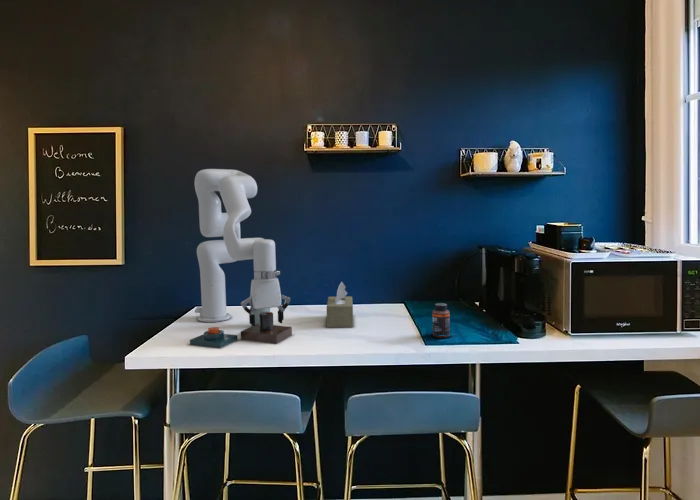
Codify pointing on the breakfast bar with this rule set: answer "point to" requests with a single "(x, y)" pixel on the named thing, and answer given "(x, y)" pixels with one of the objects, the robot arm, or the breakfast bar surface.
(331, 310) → the tissue box
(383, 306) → the breakfast bar surface
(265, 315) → the knob
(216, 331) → the button
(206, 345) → the button box
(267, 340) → the panel
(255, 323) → the coffee cup
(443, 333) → the supplement bottle
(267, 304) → the robot arm
